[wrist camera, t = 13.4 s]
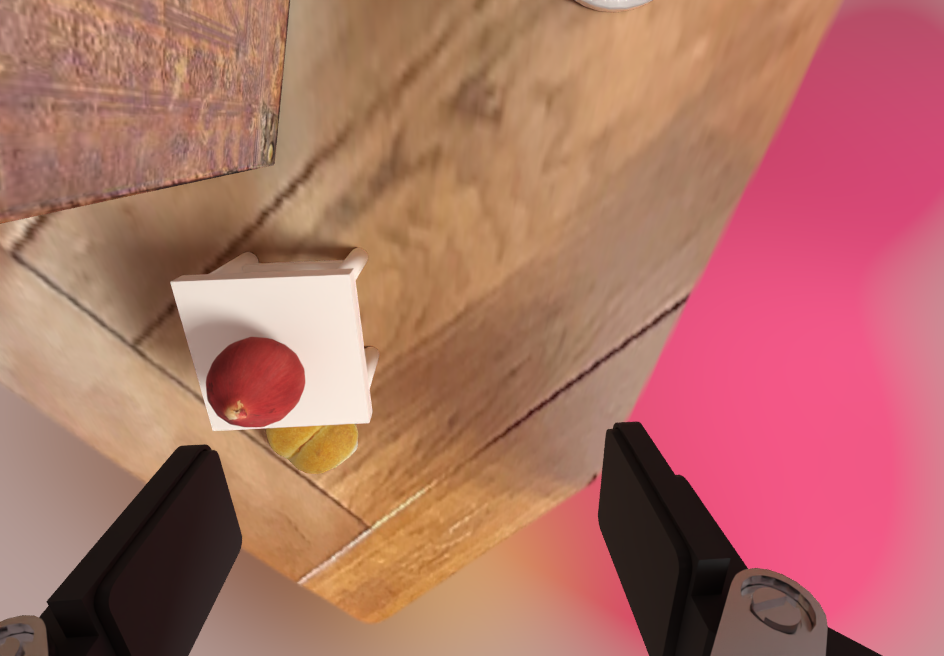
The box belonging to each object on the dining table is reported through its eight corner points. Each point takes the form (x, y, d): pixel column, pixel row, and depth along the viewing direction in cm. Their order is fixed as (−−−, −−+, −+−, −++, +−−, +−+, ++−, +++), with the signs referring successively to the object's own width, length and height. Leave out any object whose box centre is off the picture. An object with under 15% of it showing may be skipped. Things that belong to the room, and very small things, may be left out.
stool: (371, 242, 41) (349, 274, 32) (384, 364, 46) (369, 423, 37) (232, 247, 41) (170, 281, 32) (260, 370, 46) (213, 431, 36)
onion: (281, 404, 36) (238, 476, 28) (218, 355, 34) (154, 417, 27) (333, 358, 34) (302, 420, 27) (270, 303, 33) (218, 354, 25)
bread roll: (307, 372, 46) (295, 393, 43) (372, 429, 49) (367, 453, 45) (252, 420, 48) (235, 444, 44) (318, 472, 51) (308, 499, 47)
